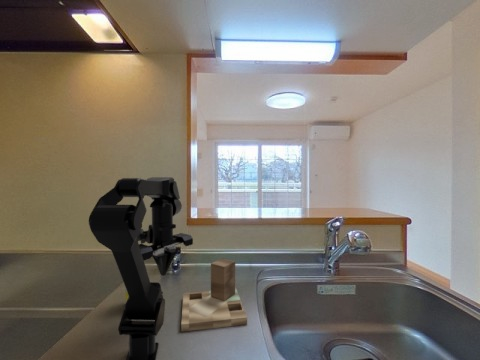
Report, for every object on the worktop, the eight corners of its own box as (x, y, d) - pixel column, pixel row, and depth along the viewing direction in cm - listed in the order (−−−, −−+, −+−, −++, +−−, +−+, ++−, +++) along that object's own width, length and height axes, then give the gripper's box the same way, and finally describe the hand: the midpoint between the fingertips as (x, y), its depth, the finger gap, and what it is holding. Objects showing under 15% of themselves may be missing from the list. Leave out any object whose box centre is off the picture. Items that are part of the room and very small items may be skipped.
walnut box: (224, 301, 80) (224, 266, 79) (210, 296, 83) (210, 263, 83) (235, 294, 85) (235, 261, 84) (222, 289, 88) (222, 258, 88)
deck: (247, 324, 71) (247, 317, 71) (181, 331, 68) (181, 324, 68) (236, 294, 89) (236, 288, 89) (183, 299, 85) (183, 293, 85)
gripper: (170, 213, 84) (170, 259, 85) (115, 223, 69) (116, 279, 70) (193, 217, 78) (194, 267, 79) (139, 229, 63) (140, 290, 63)
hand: (163, 275), depth 73 cm, fingers closed
